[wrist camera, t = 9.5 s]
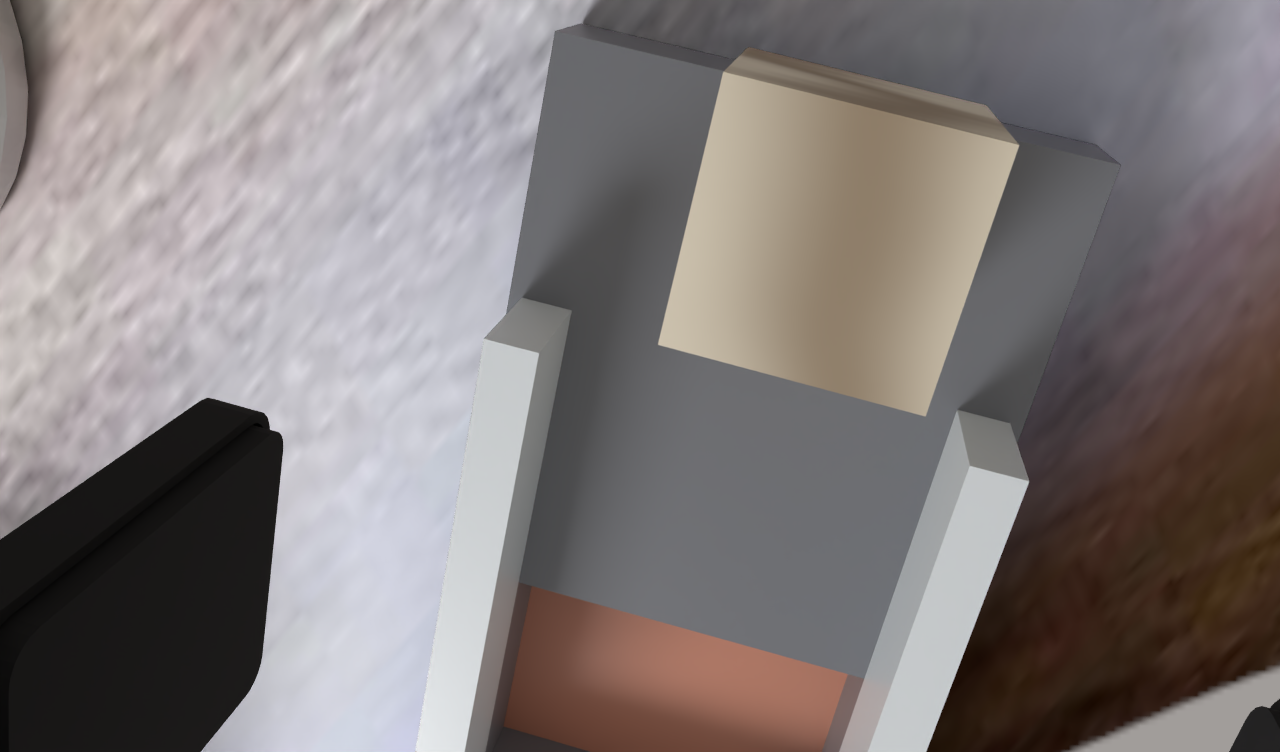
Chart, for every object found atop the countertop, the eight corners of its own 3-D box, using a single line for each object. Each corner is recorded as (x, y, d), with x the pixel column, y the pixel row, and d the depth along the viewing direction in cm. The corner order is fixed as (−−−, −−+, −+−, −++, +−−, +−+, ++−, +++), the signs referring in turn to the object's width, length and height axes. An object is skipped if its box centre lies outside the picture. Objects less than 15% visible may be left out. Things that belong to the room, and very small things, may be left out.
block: (692, 272, 26) (657, 344, 21) (748, 47, 24) (722, 71, 19) (912, 330, 25) (925, 416, 21) (986, 105, 23) (1019, 144, 19)
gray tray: (833, 873, 34) (830, 1037, 29) (447, 760, 35) (379, 898, 30) (1096, 144, 26) (1157, 194, 21) (580, 23, 27) (517, 42, 22)
